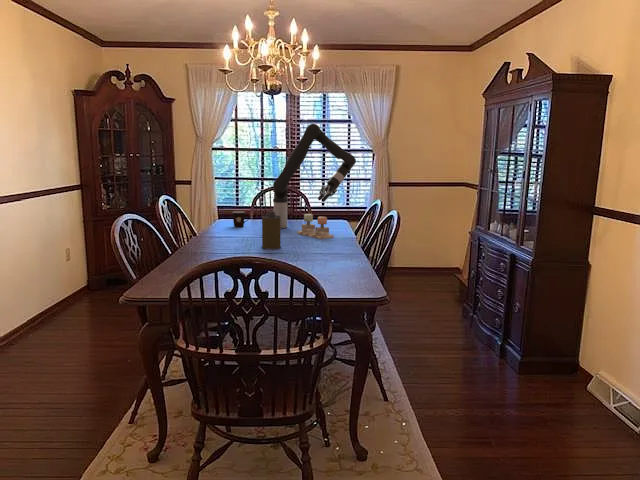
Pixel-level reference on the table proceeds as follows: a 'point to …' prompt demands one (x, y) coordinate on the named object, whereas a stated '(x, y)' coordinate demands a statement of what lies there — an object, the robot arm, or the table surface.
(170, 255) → the table surface
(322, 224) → the brown rounded piece
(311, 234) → the button board
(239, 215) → the coffee mug
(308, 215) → the pale green rounded knob
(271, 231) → the canister
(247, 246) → the table surface
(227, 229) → the table surface
